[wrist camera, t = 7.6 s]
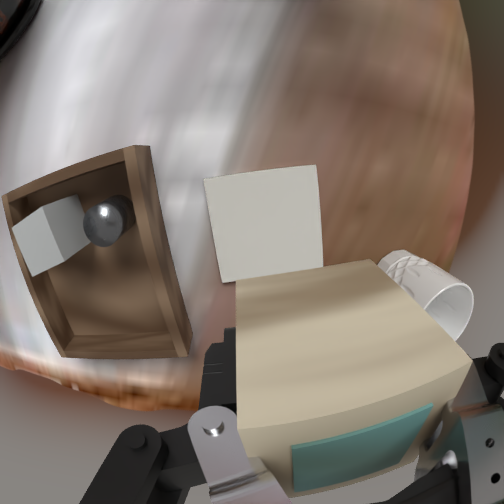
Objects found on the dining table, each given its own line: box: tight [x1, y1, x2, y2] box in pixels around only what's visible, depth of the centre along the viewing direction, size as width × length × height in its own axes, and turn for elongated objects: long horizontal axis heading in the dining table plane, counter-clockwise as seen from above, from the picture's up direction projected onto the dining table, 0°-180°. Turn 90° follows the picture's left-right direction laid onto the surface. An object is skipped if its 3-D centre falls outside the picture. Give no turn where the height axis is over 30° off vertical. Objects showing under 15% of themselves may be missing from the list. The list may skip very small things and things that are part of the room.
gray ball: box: [83, 195, 136, 247], centre depth 22 cm, size 4×4×4 cm
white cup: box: [377, 250, 474, 341], centre depth 24 cm, size 8×8×10 cm
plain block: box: [12, 194, 91, 277], centre depth 21 cm, size 5×5×6 cm
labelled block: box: [236, 259, 473, 498], centre depth 8 cm, size 5×5×6 cm
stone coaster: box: [203, 165, 323, 283], centre depth 25 cm, size 10×10×1 cm
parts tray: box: [2, 145, 193, 359], centre depth 24 cm, size 20×17×4 cm
